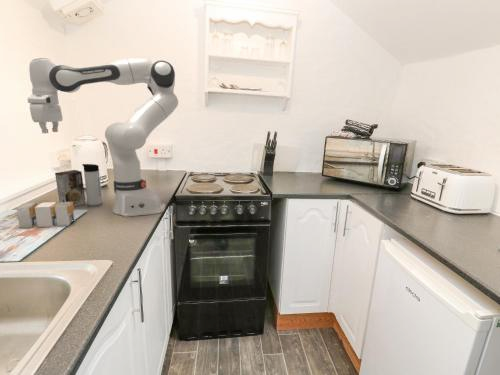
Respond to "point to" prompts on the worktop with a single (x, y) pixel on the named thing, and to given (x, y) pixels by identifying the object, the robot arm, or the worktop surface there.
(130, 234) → the worktop surface
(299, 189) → the worktop surface
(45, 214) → the notched cream cube
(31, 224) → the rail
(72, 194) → the coffee box
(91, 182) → the travel mug
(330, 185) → the worktop surface
